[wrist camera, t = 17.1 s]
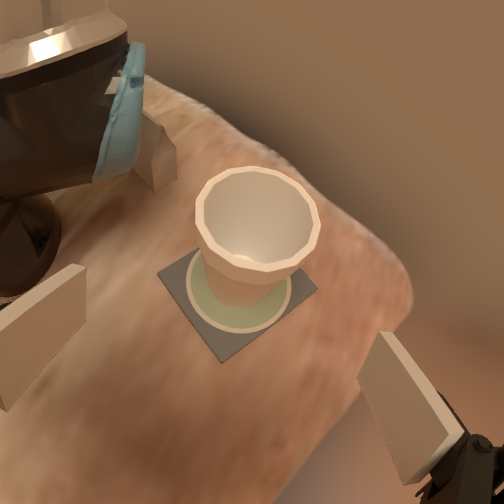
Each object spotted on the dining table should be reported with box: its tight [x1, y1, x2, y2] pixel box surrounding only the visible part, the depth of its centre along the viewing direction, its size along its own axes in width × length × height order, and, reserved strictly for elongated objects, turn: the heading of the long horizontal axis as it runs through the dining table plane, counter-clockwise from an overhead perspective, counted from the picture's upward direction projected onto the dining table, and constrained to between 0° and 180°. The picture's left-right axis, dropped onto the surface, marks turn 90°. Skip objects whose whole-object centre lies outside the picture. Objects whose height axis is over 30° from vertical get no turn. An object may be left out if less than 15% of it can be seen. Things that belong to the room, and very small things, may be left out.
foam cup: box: [195, 166, 321, 309], centre depth 28 cm, size 10×9×13 cm
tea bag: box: [132, 110, 177, 192], centre depth 36 cm, size 4×7×10 cm, turn 45°
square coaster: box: [157, 248, 318, 363], centre depth 34 cm, size 12×14×1 cm
